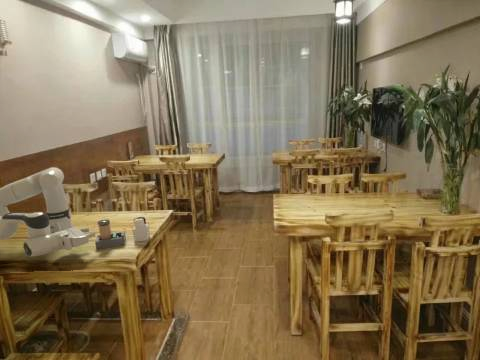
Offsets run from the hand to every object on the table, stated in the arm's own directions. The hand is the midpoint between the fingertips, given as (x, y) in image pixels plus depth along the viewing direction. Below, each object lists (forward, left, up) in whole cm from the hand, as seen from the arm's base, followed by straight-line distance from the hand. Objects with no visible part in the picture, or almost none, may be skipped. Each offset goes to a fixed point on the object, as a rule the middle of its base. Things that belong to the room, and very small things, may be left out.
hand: (91, 231), depth 180 cm
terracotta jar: (+6, +3, -8) cm, 11 cm away
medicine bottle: (+24, +4, -10) cm, 26 cm away
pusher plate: (+11, +4, -8) cm, 14 cm away
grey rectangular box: (+8, +4, -9) cm, 13 cm away
